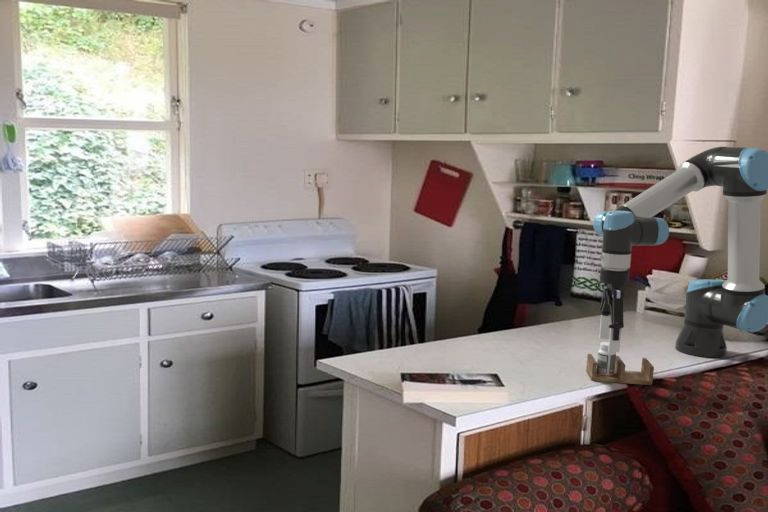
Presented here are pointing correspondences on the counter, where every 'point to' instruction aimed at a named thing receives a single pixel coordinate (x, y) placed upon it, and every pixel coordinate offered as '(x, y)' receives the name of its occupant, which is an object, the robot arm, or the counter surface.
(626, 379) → the rack
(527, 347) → the counter surface
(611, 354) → the pill bottle
